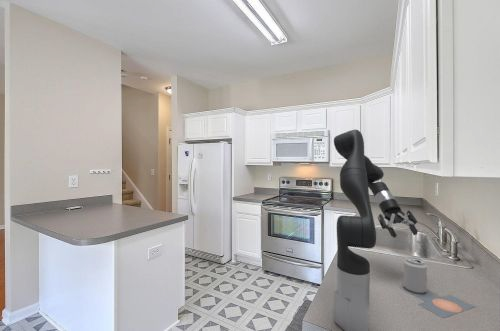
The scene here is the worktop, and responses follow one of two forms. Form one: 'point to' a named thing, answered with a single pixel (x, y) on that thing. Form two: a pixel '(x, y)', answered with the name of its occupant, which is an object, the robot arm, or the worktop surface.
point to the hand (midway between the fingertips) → (405, 235)
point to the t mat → (441, 303)
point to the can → (415, 275)
